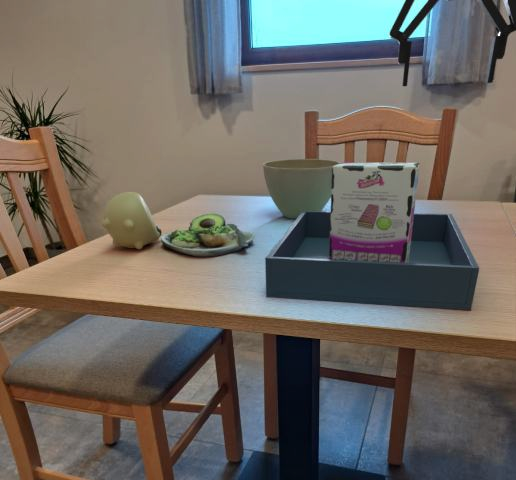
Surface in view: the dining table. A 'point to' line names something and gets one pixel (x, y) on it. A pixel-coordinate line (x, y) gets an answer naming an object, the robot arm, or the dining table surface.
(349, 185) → the candy bar box
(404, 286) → the bin
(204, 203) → the dining table surface
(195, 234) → the salad plate
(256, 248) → the dining table surface
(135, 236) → the toy pig
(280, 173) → the flower pot
